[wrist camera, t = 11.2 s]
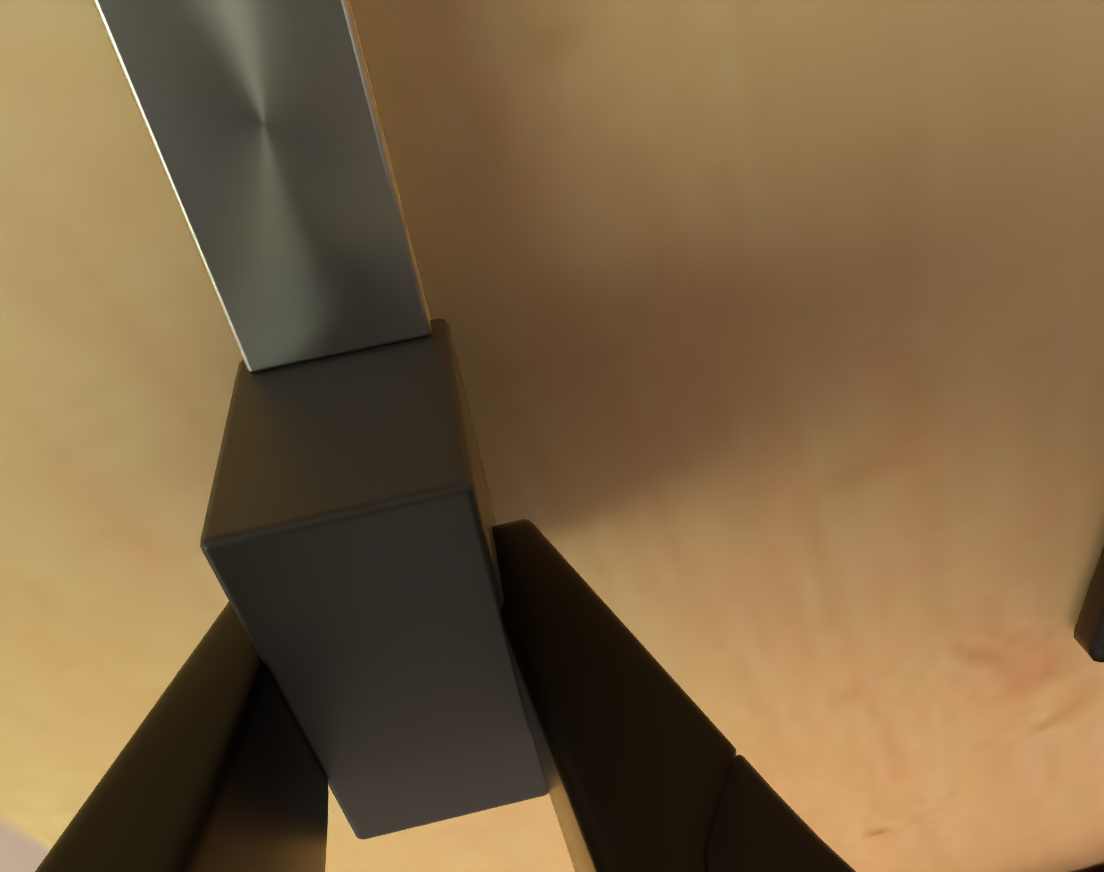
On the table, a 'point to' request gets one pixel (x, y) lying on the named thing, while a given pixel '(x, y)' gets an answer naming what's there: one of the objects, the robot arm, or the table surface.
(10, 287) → the table surface
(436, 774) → the dark grey handle block
